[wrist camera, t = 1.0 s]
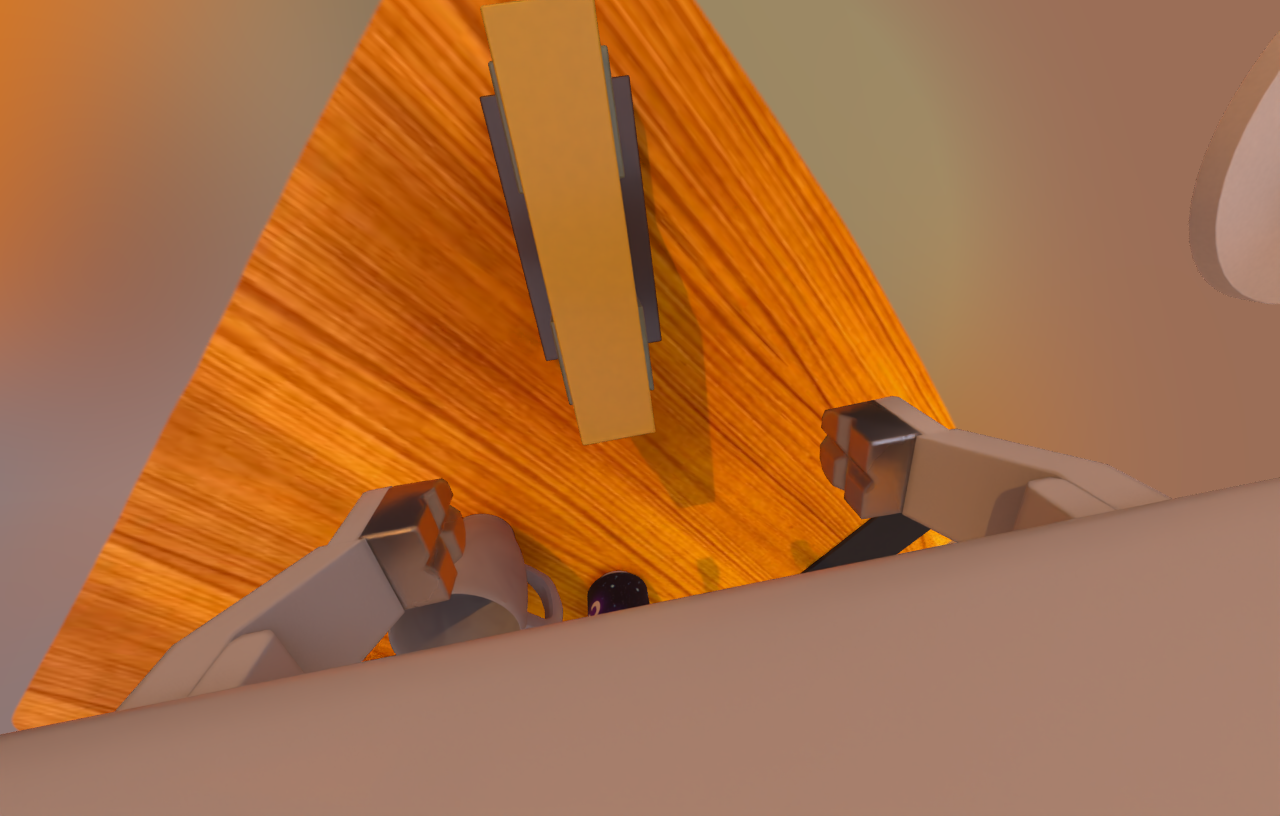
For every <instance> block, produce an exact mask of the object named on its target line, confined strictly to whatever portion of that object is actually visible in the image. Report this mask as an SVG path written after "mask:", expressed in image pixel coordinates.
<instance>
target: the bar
mask: <svg viewBox="0 0 1280 816" xmlns="http://www.w3.org/2000/svg"><path fill="white" fill-rule="evenodd" d="M480 10H481V14H482V18H483V23H484V27H485V31H486V35H487V40H488V44H489V48H490V52H491V57H492V61H493V65H494V69H495V74H496V78H497V82H498V87H499V91H500V95H501V99H502V104H503V108H504V112H505V116H506V121H507V125H508V129H509V133H510V138H511V142H512V146H513V151H514V155H515V159H516V163H517V168H518V172H519V176H520V180H521V185H522V189H523V193H524V198H525V202H526V206H527V210H528V215H529V219H530V223H531V227H532V232H533V236H534V240H535V244H536V249H537V253H538V257H539V262H540V266H541V270H542V274H543V279H544V283H545V287H546V291H547V296H548V300H549V304H550V308H551V313H552V317H553V321H554V326H555V330H556V334H557V338H558V343H559V347H560V351H561V355H562V360H563V364H564V368H565V373H566V377H567V381H568V385H569V390H570V394H571V398H572V402H573V407H574V411H575V415H576V419H577V424H578V428H579V432H580V437H581V441H582V444H583V445H589V444H594V443H600V442H605V441H610V440H616V439H621V438H626V437H632V436H637V435H642V434H648V433H653V432H655V423H654V416H653V409H652V402H651V395H650V388H649V381H648V374H647V367H646V360H645V353H644V346H643V339H642V332H641V325H640V318H639V311H638V304H637V297H636V290H635V283H634V276H633V269H632V262H631V255H630V248H629V241H628V234H627V227H626V220H625V213H624V206H623V199H622V192H621V185H620V178H619V171H618V164H617V156H616V149H615V142H614V135H613V128H612V121H611V114H610V107H609V100H608V93H607V86H606V79H605V72H604V65H603V58H602V51H601V44H600V37H599V30H598V23H597V16H596V9H595V2H594V0H520V1H513V2H505V3H498V4H491V5H483V6H481V9H480Z"/></svg>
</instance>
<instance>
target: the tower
mask: <svg viewBox="0 0 1280 816" xmlns="http://www.w3.org/2000/svg"><path fill="white" fill-rule="evenodd" d="M601 51H602V58H603V65H604V72H605V79H606V86H607V93H608V100H609V107H610V114H611V121H612V128H613V135H614V142H615V149H616V156H617V164H618V171H619V178H620V185H621V192H622V199H623V206H624V213H625V220H626V227H627V234H628V241H629V248H630V255H631V262H632V269H633V276H634V283H635V290H636V297H637V304H638V311H639V318H640V325H641V332H642V339H643V346H644V353H645V360H646V367H647V374H648V381H649V388H650V390H654V384H653V377H652V369H651V362H650V355H649V347H648V343H652V342H657V341H661V331H660V323H659V315H658V307H657V298H656V290H655V282H654V274H653V266H652V258H651V249H650V241H649V233H648V225H647V217H646V208H645V200H644V192H643V184H642V176H641V167H640V159H639V151H638V143H637V135H636V126H635V118H634V110H633V102H632V94H631V86H630V77H629V76H628V75H625V76H618V77H612V78H611V71H610V63H609V56H608V49H607V46H605V45H603V46H601ZM488 66H489V70H490V74H491V78H492V83H493V87H494V91H495V95H488V96H481V97H480V102H481V106H482V110H483V113H484V117H485V121H486V125H487V129H488V133H489V137H490V141H491V145H492V149H493V153H494V157H495V161H496V165H497V169H498V173H499V177H500V181H501V185H502V189H503V193H504V197H505V200H506V204H507V208H508V212H509V216H510V220H511V224H512V228H513V232H514V236H515V240H516V244H517V248H518V252H519V256H520V260H521V264H522V268H523V272H524V276H525V280H526V284H527V288H528V291H529V295H530V299H531V303H532V307H533V311H534V315H535V319H536V323H537V327H538V331H539V335H540V339H541V343H542V347H543V351H544V355H545V359H546V361H550V360H555V359H559V363H560V368H561V372H562V376H563V380H564V384H565V389H566V393H567V397H568V401H569V404H570V405H573V402H572V398H571V394H570V390H569V385H568V381H567V377H566V373H565V368H564V364H563V360H562V355H561V351H560V347H559V343H558V338H557V334H556V330H555V326H554V321H553V317H552V313H551V308H550V304H549V300H548V296H547V291H546V287H545V283H544V279H543V274H542V270H541V266H540V262H539V257H538V253H537V249H536V244H535V240H534V236H533V232H532V227H531V223H530V219H529V215H528V210H527V206H526V202H525V198H524V193H523V189H522V185H521V180H520V176H519V172H518V168H517V163H516V159H515V155H514V151H513V146H512V142H511V138H510V133H509V129H508V125H507V121H506V116H505V112H504V108H503V104H502V99H501V95H500V91H499V87H498V82H497V78H496V74H495V69H494V65H493V61H490V62H489V63H488Z"/></svg>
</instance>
